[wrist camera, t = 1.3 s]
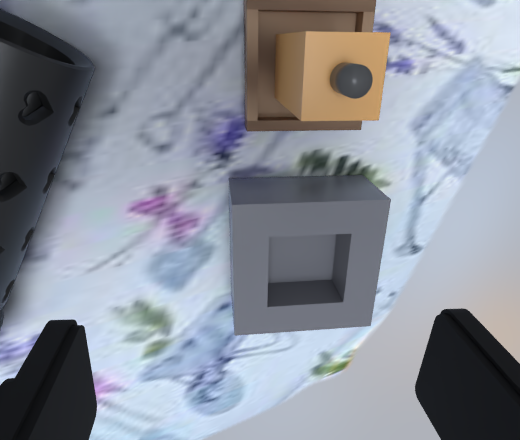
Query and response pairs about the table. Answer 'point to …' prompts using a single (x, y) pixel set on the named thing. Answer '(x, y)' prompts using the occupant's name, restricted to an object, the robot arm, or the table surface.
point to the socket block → (305, 252)
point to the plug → (331, 74)
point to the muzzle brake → (32, 129)
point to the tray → (264, 52)
